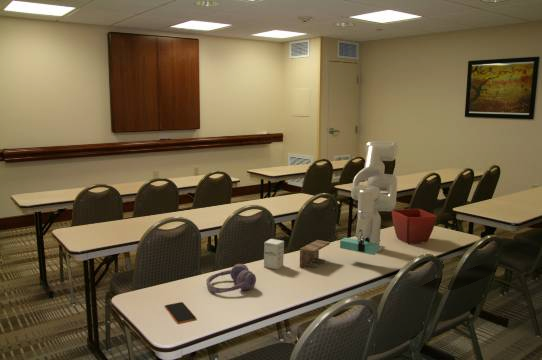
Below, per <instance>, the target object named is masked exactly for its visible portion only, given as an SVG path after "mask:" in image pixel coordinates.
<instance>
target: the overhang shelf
mask: <svg viewBox="0 0 542 360" xmlns="http://www.w3.org/2000/svg"><path fill="white" fill-rule="evenodd" d="M330 244H331V243H330V241H325V240H319V239H316V240H315V241H312V242H310V243H308V244H307V245H305V246H303V247H301V248H299V268H300V269H302V268H304V267H310V268H311V267H312V268H316V269H317V268H319V267H318V264H317V263H314V262H318V263H322V264H325V263H326V259H323V258H319V257H320V250H322V249H324V248H325V247H328V246H329V245H330Z"/></svg>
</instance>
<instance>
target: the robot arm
mask: <svg viewBox="0 0 542 360" xmlns="http://www.w3.org/2000/svg"><path fill="white" fill-rule="evenodd" d="M364 149H365V161H364V168H362V169H361V170H359V171H358V173H356V175H354V178H353V180H352V184H351V190H350V195H351V198H352V199H353V200H355V201H357V202H358V203H357V222H356V228H355V229H356V231H355V237H356V240H358V251H360V252H359V253H361V252H365V244H364V242H365V241H367V242H372V243H377V244H379V252H382V251H383V246H382V245H380V244H381V226H382V224H381V222H382V218H381V214H380V213H379V212H378V211H381V212H382V211H383V212H392V211H393V210H396V209H395V208H396V204H397V193H398V178H397V176H396V175H394V174H389V173H385V167H386V166H385V163H384V161H385V162H386V161H389V162H393V161H395V159H396V157H397V155H398V153H399V152H398V151H399V145H398V143H397V142H395V141H384V140H382V141H381V140H373V141H372V140H371V141H368V142H366V143H365V148H364ZM365 180H367V184H366V185H363V184H361V185H360V183H361V182H363V181H365Z"/></svg>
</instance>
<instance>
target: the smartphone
mask: <svg viewBox="0 0 542 360" xmlns="http://www.w3.org/2000/svg"><path fill="white" fill-rule="evenodd" d="M163 306H164V308H165V310H166V311H167V312H168V313H169V314H170V316H171V317H172V320H173V321H174V322H175V323H176V324H177V325H179V324H184V323H188V322H194V321H197V320H198V318H197V317H196V316H195V314H194V313H193V312H192V311H191V310H190V308H188V307H187V305H186V304H185V303H184V302H183V301H180V302H174V303H170V304H169V303H168V304H165V305H163Z"/></svg>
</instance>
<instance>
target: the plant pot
mask: <svg viewBox="0 0 542 360" xmlns="http://www.w3.org/2000/svg"><path fill="white" fill-rule="evenodd" d="M391 217H392V223H393V228H394V232H395V235H396V238H397V239H398V240H400V241H401V242H403V243H405V242H406V244H407V243H408V244H407V245H411V243H416V244H421V243H420V242H427V243H428V240H429V239H430V238H431V235H432V233H433V231H434V228H435V225H436V222H437V219H438V216H437V215H435V214H433V213H431V212H428V211H426V210H423V209H421V208H406V209H394V210H393V211H391Z"/></svg>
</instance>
